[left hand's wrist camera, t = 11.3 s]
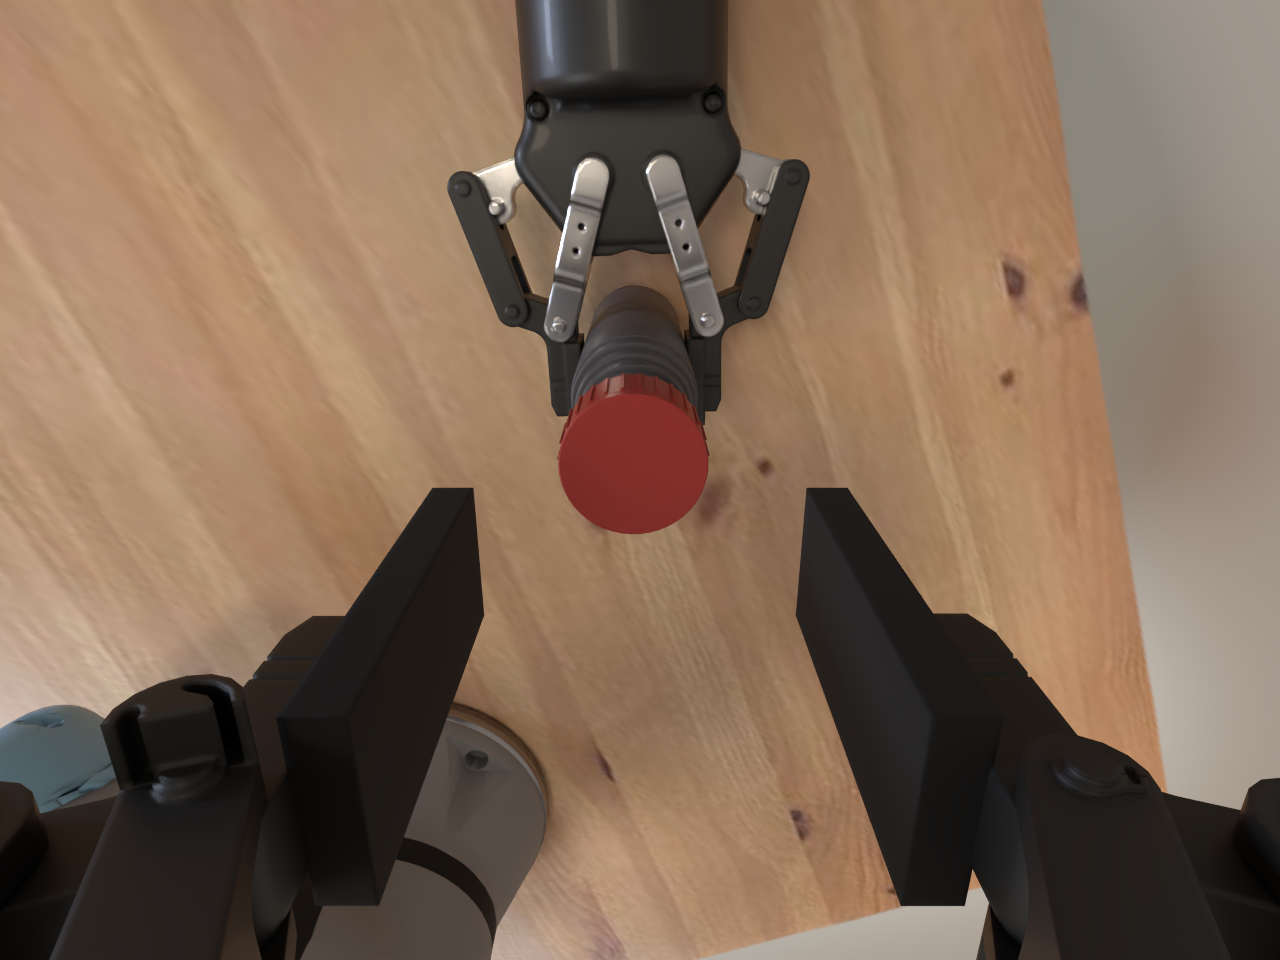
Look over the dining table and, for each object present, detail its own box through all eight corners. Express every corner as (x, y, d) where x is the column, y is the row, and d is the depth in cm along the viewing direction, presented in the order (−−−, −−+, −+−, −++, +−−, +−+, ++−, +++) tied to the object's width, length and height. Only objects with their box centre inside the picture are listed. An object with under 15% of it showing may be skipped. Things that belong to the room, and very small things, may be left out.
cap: (727, 468, 22) (736, 495, 20) (606, 527, 22) (603, 560, 20) (663, 346, 21) (666, 363, 19) (537, 412, 21) (527, 436, 19)
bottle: (692, 347, 38) (743, 493, 20) (617, 386, 39) (601, 561, 21) (653, 269, 37) (669, 350, 19) (576, 311, 38) (519, 428, 20)
